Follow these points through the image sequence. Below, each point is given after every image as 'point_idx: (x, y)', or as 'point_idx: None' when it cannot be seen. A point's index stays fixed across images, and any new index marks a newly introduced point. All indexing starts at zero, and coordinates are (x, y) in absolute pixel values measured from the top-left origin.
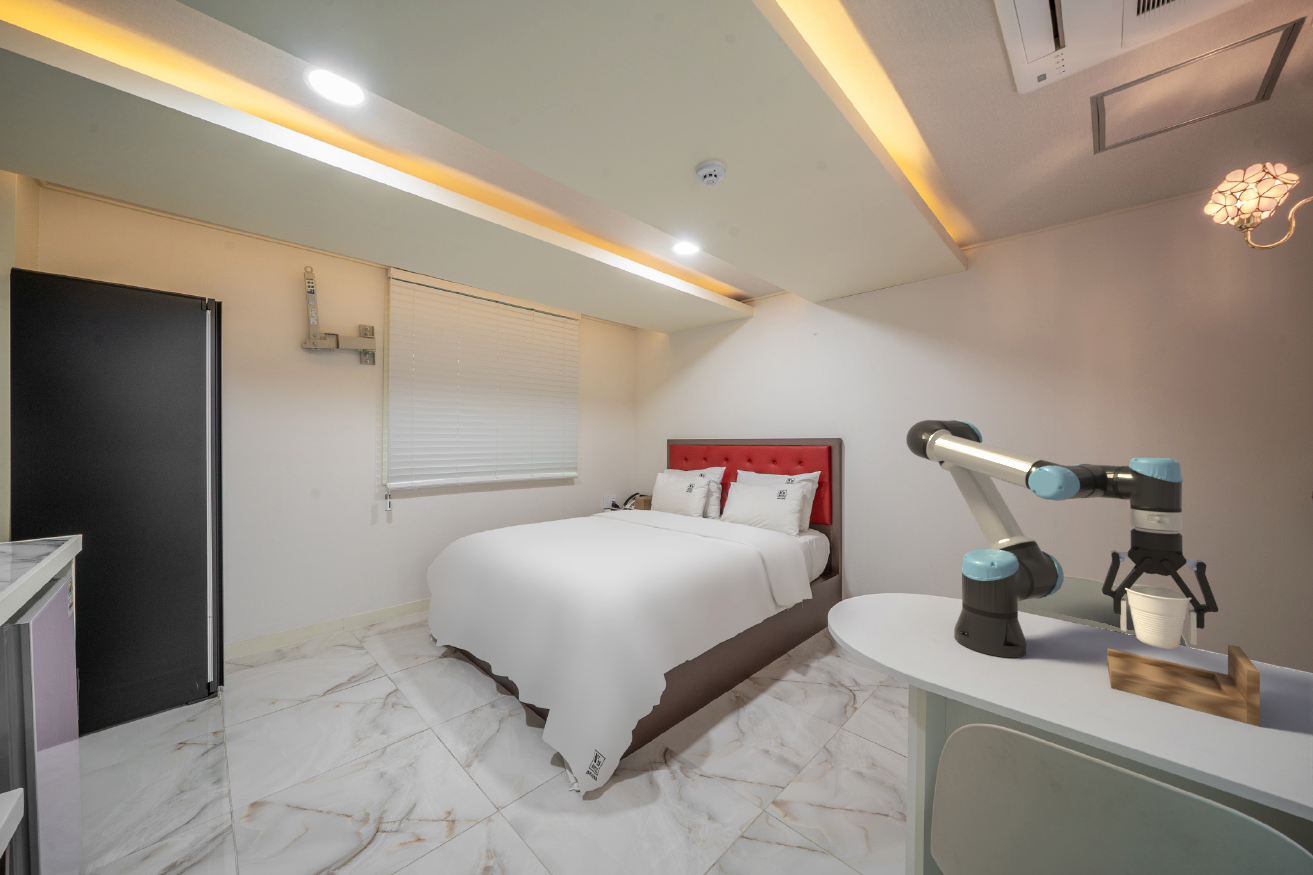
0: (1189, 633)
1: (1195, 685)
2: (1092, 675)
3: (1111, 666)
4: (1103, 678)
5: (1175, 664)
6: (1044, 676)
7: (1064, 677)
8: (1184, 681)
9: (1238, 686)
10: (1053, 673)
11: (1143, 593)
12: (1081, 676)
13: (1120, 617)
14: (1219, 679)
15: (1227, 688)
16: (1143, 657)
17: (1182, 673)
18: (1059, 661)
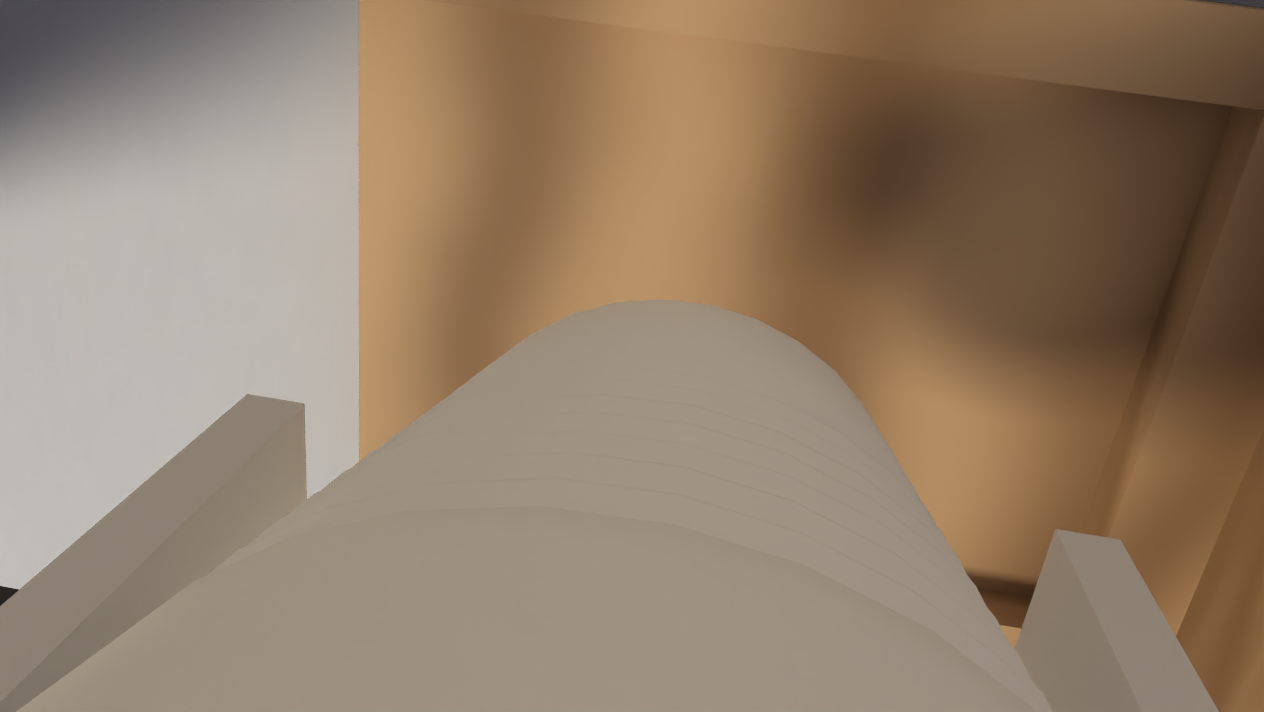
0: (1067, 698)
1: (955, 376)
2: (289, 312)
3: (372, 318)
4: (358, 327)
5: (942, 37)
6: (29, 523)
7: (131, 468)
8: (894, 332)
9: (1260, 505)
10: (64, 437)
11: (192, 708)
12: (223, 382)
13: (149, 479)
14: (1221, 269)
15: (1163, 479)
16: (657, 2)
17: (966, 98)
18: (56, 135)
